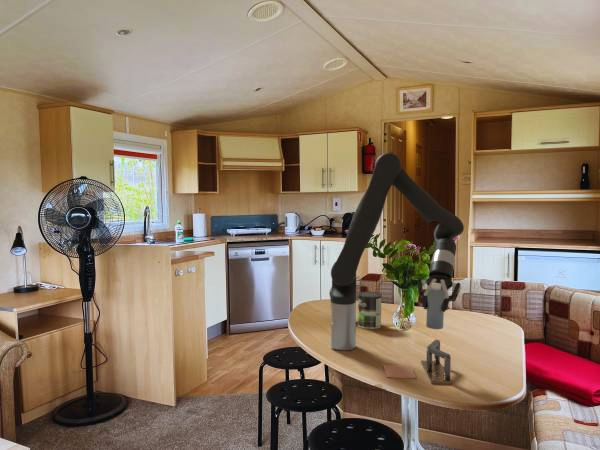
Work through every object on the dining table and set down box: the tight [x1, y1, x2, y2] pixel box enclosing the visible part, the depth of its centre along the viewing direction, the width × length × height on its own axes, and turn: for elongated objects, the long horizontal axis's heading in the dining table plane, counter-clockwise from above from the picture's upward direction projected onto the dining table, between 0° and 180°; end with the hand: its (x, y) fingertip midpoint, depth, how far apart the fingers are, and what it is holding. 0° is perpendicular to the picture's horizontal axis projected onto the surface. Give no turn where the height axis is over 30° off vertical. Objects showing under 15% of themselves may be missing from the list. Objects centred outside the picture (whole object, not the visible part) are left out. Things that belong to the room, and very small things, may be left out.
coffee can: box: [357, 291, 383, 330], centre depth 203 cm, size 10×10×14 cm
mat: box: [383, 364, 417, 379], centre depth 152 cm, size 9×10×1 cm
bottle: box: [425, 283, 445, 330], centre depth 149 cm, size 5×5×14 cm
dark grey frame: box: [420, 339, 453, 385], centre depth 150 cm, size 6×17×9 cm, turn 176°
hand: (434, 309), depth 147 cm, fingers closed on bottle, 5 cm apart
